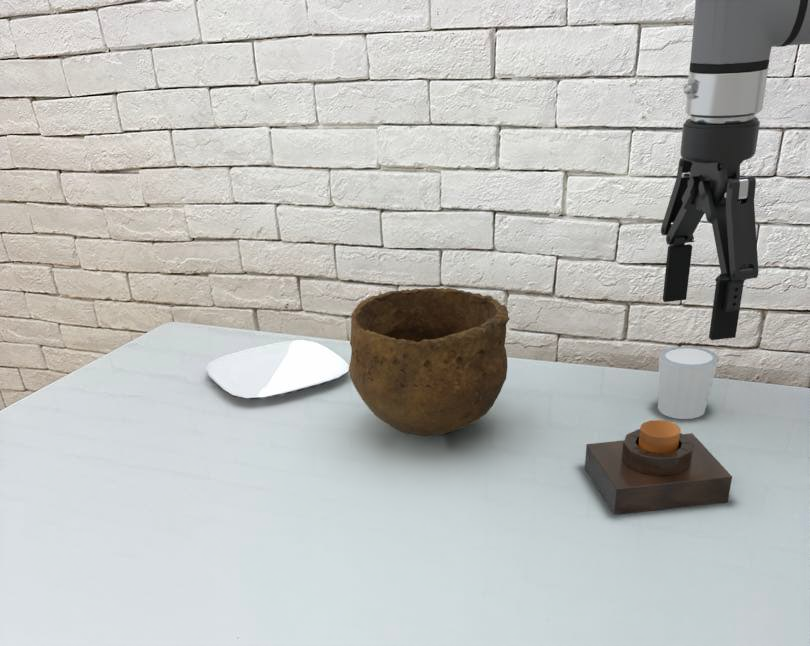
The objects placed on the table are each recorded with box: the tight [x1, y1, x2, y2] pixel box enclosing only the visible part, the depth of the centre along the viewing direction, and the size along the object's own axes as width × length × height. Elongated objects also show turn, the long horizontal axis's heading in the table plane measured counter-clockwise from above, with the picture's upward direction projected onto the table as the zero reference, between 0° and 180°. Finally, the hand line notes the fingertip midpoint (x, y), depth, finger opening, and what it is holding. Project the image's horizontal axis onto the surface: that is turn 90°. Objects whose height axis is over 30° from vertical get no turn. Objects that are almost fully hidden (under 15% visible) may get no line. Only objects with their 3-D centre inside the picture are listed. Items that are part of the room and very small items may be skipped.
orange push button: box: [638, 419, 682, 453], centre depth 88 cm, size 4×4×2 cm
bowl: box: [348, 287, 510, 437], centre depth 101 cm, size 19×19×15 cm
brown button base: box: [584, 428, 733, 515], centre depth 90 cm, size 12×10×5 cm
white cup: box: [657, 345, 719, 420], centre depth 104 cm, size 7×7×7 cm
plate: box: [205, 339, 350, 401], centre depth 121 cm, size 18×18×2 cm
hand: (696, 318), depth 100 cm, fingers open, 13 cm apart
